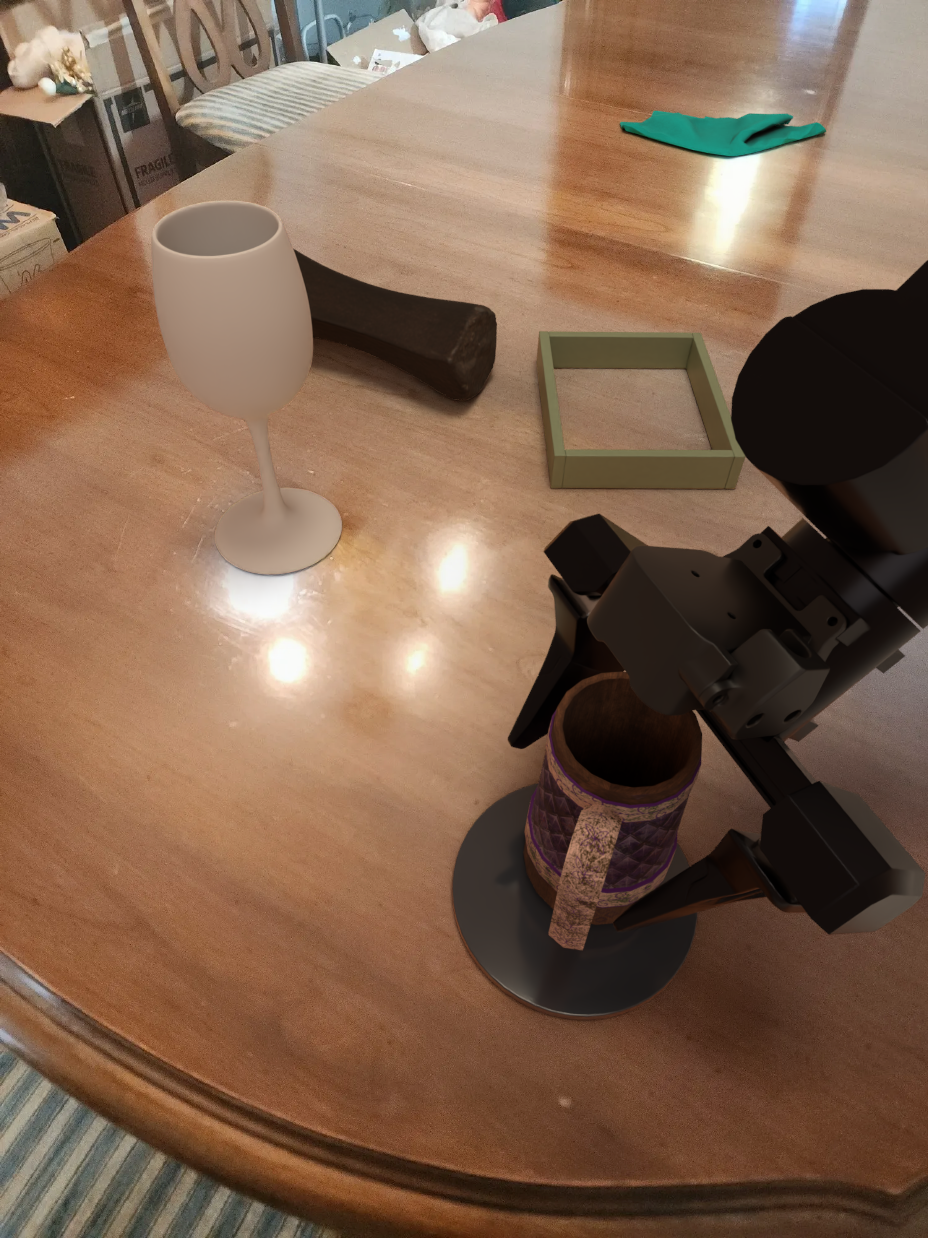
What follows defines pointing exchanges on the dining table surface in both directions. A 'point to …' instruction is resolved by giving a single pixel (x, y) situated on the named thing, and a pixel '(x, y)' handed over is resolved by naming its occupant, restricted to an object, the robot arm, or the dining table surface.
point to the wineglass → (243, 361)
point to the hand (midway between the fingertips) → (562, 829)
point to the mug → (607, 803)
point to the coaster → (520, 921)
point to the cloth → (722, 132)
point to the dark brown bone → (404, 329)
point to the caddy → (638, 465)
